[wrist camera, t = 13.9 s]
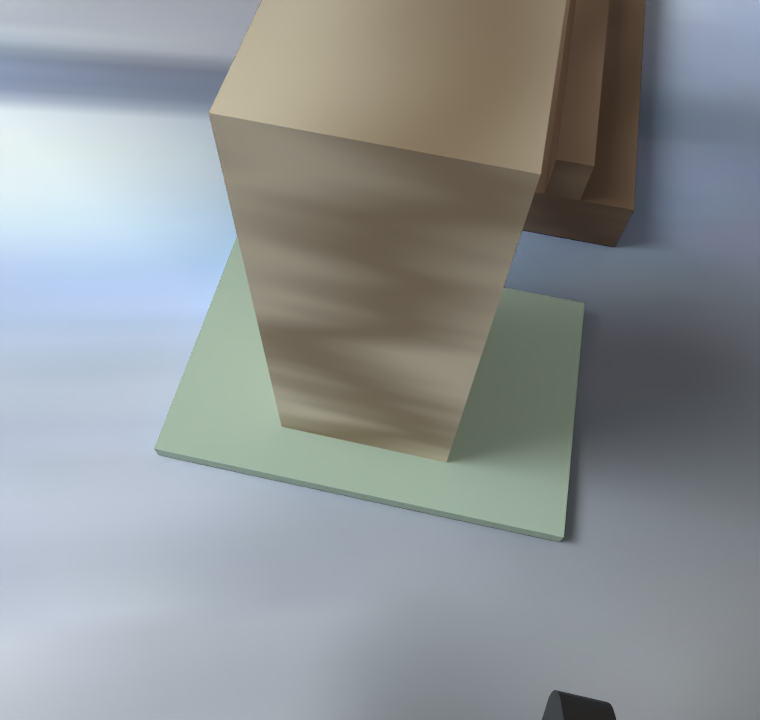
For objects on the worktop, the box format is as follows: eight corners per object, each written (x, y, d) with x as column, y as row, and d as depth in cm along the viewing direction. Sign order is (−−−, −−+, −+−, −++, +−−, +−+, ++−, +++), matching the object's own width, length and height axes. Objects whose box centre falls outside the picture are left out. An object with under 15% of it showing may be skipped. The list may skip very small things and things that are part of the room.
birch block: (281, 426, 21) (208, 112, 11) (323, 290, 24) (298, -78, 13) (446, 462, 21) (539, 174, 10) (472, 320, 23) (571, -34, 13)
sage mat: (158, 454, 21) (154, 448, 21) (239, 244, 25) (236, 235, 24) (559, 541, 20) (563, 537, 20) (580, 311, 24) (584, 302, 24)
